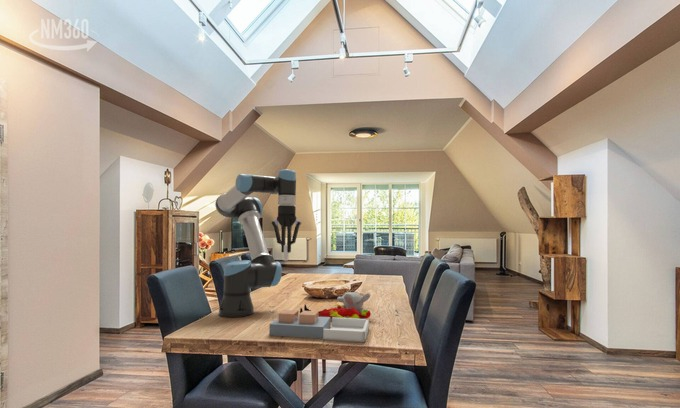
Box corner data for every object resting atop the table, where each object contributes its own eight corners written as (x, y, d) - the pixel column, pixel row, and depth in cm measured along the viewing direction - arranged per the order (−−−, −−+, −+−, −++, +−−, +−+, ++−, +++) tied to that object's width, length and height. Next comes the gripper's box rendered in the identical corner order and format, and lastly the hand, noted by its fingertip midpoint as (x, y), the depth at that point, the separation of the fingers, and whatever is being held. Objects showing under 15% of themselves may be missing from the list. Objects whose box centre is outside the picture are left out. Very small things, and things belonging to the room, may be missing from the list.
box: (323, 339, 126) (323, 329, 126) (332, 326, 143) (332, 317, 143) (364, 342, 124) (364, 331, 124) (368, 328, 140) (368, 319, 141)
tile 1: (278, 321, 135) (278, 313, 135) (283, 317, 141) (283, 309, 141) (293, 322, 134) (294, 314, 134) (298, 318, 140) (298, 310, 140)
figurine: (306, 302, 164) (372, 303, 158) (306, 315, 164) (372, 317, 158) (298, 308, 152) (368, 310, 146) (298, 323, 152) (369, 325, 146)
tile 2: (299, 322, 133) (299, 314, 134) (303, 318, 139) (303, 310, 140) (314, 323, 132) (314, 315, 133) (318, 319, 138) (318, 311, 139)
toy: (336, 309, 181) (344, 317, 152) (336, 290, 183) (344, 293, 154) (359, 309, 183) (372, 316, 153) (359, 289, 184) (371, 293, 155)
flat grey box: (269, 335, 131) (269, 324, 131) (281, 324, 145) (281, 314, 145) (323, 338, 128) (323, 327, 128) (330, 327, 141) (330, 317, 142)
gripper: (269, 204, 153) (268, 260, 151) (299, 204, 152) (299, 261, 150) (274, 205, 160) (273, 259, 159) (303, 205, 159) (302, 259, 158)
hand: (286, 260), depth 154 cm, fingers closed
